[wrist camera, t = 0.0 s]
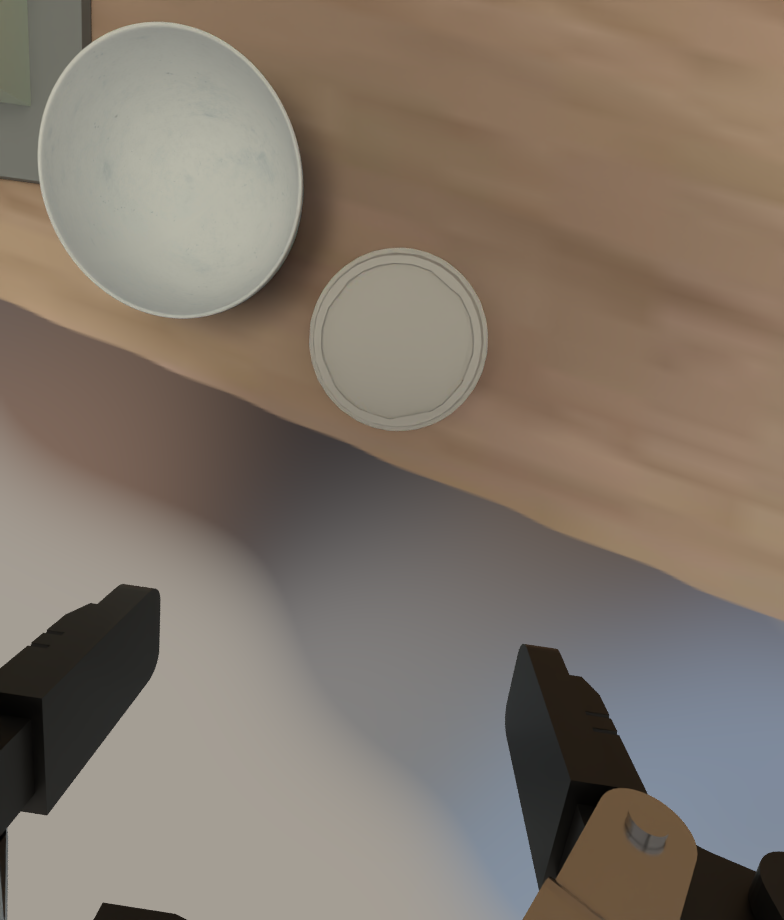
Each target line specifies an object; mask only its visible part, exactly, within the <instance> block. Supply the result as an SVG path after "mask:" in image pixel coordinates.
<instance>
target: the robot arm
mask: <svg viewBox="0 0 784 920" xmlns="http://www.w3.org/2000/svg"><path fill="white" fill-rule="evenodd" d="M159 633H160V594H159V591H158V590H157V589H153V588H147V587H139V586H133V585H126V584H121V585H119V586H118V587H117V588H115V589H114V590H113V591H112V592H111V593H110V594H108V595H107V596H106V597H105V598H104V599H103V600H102V601H100V602H99V603H98V604H92V603H90V604H88V605H85V606H83V607H81V608H79V609H77V610H75V611H73V612H70V613H68V614H66V615H64V616H63V617H62V618H61V619H60V620H59V621H57V622H56V623H55V624H53V625H52V626H51V627H50V628H49V629H48V630H47V632H46V633H43V634H41V635H40V636H39V637H38V638H36V639H35V640H34V641H33V642H32V644H31V646H27V647H26V648H24V649H23V650H22V651H21V652H20V653H18V654H17V655H16V656H15V657H13V658H12V659H11V660H10V661H9V662H8V663H6V664H5V665H4V666H2V667H1V668H0V920H7V896H8V891H7V890H8V832H7V827H8V826H9V825H10V823H11V822H12V821H13V820H14V819H15V817H16V816H17V815H18V813H20V811H23V812H29V813H35V814H42V815H48V813H49V812H50V811H51V810H52V808H53V807H54V805H55V804H56V803H57V801H58V800H59V799H60V797H61V796H62V795H63V794H64V792H65V791H66V790H67V788H68V787H69V786H70V784H71V783H72V782H73V780H74V779H75V778H76V776H77V775H78V774H79V773H80V771H81V770H82V769H83V767H84V766H85V765H86V763H87V762H88V760H89V759H90V758H91V757H92V755H93V754H94V753H95V751H96V750H97V749H98V747H99V746H100V745H101V743H102V742H103V741H104V739H105V738H106V736H107V735H108V734H109V733H110V731H111V730H112V729H113V728H114V726H115V725H116V723H117V722H118V721H119V720H120V718H121V717H122V716H123V714H124V713H125V712H126V710H127V709H128V708H129V706H130V705H131V704H132V702H133V701H134V700H135V698H136V697H137V696H138V694H139V693H140V692H141V690H142V689H143V688H144V686H145V685H146V684H147V682H148V681H149V680H150V678H151V676H152V674H153V672H154V670H155V667H156V664H157V660H158V655H159V636H160V635H159ZM505 728H506V736H507V741H508V746H509V751H510V755H511V760H512V765H513V770H514V774H515V779H516V783H517V789H518V793H519V798H520V803H521V807H522V812H523V816H524V822H525V826H526V831H527V836H528V840H529V845H530V850H531V854H532V859H533V864H534V869H535V873H536V878H537V883H538V888H539V892H538V894H537V896H536V897H535V899H534V901H533V902H532V904H531V906H530V908H529V909H528V911H527V913H526V915H525V916H524V918H523V920H784V852H771V853H768V854H767V855H765V856H764V857H763V858H762V860H761V862H760V864H759V867H758V869H757V871H753V870H751V869H748V868H746V867H744V866H741V865H739V864H737V863H734V862H732V861H730V860H727V859H725V858H722V857H720V856H718V855H715V854H713V853H711V852H709V851H707V850H705V849H702V848H701V847H699V846H697V845H696V843H695V840H694V838H693V836H692V834H691V832H690V831H689V829H688V828H687V826H686V825H685V823H684V822H683V821H682V820H681V819H680V818H679V817H678V816H677V815H676V814H675V813H674V812H673V811H672V810H671V809H670V808H668V807H667V806H666V805H664V804H663V803H662V802H660V801H659V800H657V799H655V798H653V797H652V796H650V795H648V794H647V792H646V790H645V788H644V785H643V783H642V782H641V779H640V777H639V775H638V773H637V771H636V769H635V767H634V765H633V763H632V761H631V759H630V757H629V755H628V753H627V751H626V749H625V746H624V744H623V742H622V740H621V738H620V736H619V735H617V730H616V728H615V726H614V724H613V722H612V720H611V719H610V718H609V714H608V711H607V709H606V708H605V705H604V703H603V701H602V699H601V697H600V695H599V694H598V693H597V692H596V691H595V690H594V689H593V688H592V687H591V686H590V685H589V684H588V683H587V682H586V681H585V680H584V679H583V678H582V677H579V676H572V675H569V673H568V671H567V668H566V666H565V664H564V661H563V659H562V657H561V654H560V652H559V651H558V649H554V648H547V647H541V646H534V645H527V644H522V645H521V647H520V649H519V652H518V656H517V660H516V665H515V670H514V674H513V678H512V682H511V687H510V692H509V696H508V701H507V705H506V714H505ZM94 920H186V919H184V918H182V917H180V916H178V915H176V914H172V913H166V912H159V911H153V910H146V909H140V908H134V907H127V906H121V905H115V904H108V903H102V905H101V907H100V909H99V911H98V913H97V915H96V916H95V918H94Z"/></svg>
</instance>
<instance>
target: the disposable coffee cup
mask: <svg viewBox="0 0 784 920" xmlns="http://www.w3.org/2000/svg"><path fill="white" fill-rule="evenodd" d="M487 346H488V331H487V324H486V318H485V315H484V311H483V308H482V305H481V302H480V300H479V298H478V297H477V295H476V293H475V291H474V290H473V288H472V286H471V285H470V284H469V282H468V281H467V280H466V279H465V277H464V276H463V275H462V274H461V273H460V272H458V271H457V270H456V269H455V268H454V267H453V266H452V265H451V264H449V263H447V262H446V261H444V260H442V259H441V258H439V257H437V256H434V255H432V254H430V253H427V252H424V251H420V250H416V249H410V248H387V249H382V250H377V251H373V252H370V253H368V254H365V255H363V256H360V257H358V258H357V259H355V260H354V261H352V262H351V263H349V264H347V265H346V266H344V267H343V268H342V269H341V270H340V271H339V272H338V273H337V274H336V275H335V276H334V277H333V278H332V279H331V280H330V281H329V283H328V284H327V285H326V287H325V288H324V290H323V291H322V293H321V295H320V297H319V299H318V301H317V303H316V305H315V309H314V312H313V315H312V319H311V322H310V337H309V348H310V354H311V360H312V364H313V367H314V370H315V373H316V376H317V379H318V380H319V382H320V384H321V385H322V387H323V389H324V390H325V392H326V394H327V395H328V397H329V398H330V399H331V400H332V401H333V402H334V403H335V404H336V405H337V406H338V407H339V408H340V410H342V411H343V412H345V413H346V414H348V415H349V416H351V417H352V418H354V419H355V420H357V421H359V422H361V423H363V424H366V425H368V426H371V427H374V428H378V429H383V430H388V431H407V430H415V429H419V428H422V427H426V426H429V425H432V424H434V423H436V422H438V421H440V420H442V419H444V418H445V417H447V416H448V415H450V414H451V413H452V412H454V411H455V410H456V409H457V408H458V407H459V406H460V405H461V404H463V403H464V401H465V400H466V399H467V397H468V396H469V395H470V393H471V392H472V391H473V389H474V388H475V386H476V384H477V382H478V380H479V378H480V376H481V374H482V371H483V367H484V363H485V359H486V355H487Z"/></svg>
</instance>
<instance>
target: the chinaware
mask: <svg viewBox="0 0 784 920" xmlns="http://www.w3.org/2000/svg"><path fill="white" fill-rule="evenodd" d="M38 173H39V181H40V187H41V192H42V196H43V200H44V204H45V207H46V210H47V213H48V216H49V218H50V221H51V223H52V225H53V228H54V230H55V232H56V234H57V236H58V238H59V239H60V241H61V243H62V245H63V246H64V248H65V249H66V251H67V252H68V254H69V255H70V257H71V258H72V259H73V261H74V262H75V263H76V265H77V266H78V267H79V268H80V269H81V270H82V271H83V272H84V274H85V275H86V276H87V277H88V278H89V279H90V280H91V281H93V282H94V283H95V284H96V285H97V286H98V287H100V288H101V289H102V290H103V291H105V292H106V293H107V294H109V295H110V296H112V297H113V298H115V299H117V300H118V301H120V302H122V303H124V304H126V305H128V306H130V307H132V308H134V309H137V310H140V311H142V312H145V313H149V314H152V315H156V316H161V317H167V318H180V319H186V318H199V317H205V316H210V315H214V314H217V313H220V312H223V311H226V310H228V309H231V308H233V307H235V306H237V305H239V304H241V303H242V302H244V301H246V300H247V299H249V298H250V297H252V296H253V295H255V294H256V293H257V292H258V291H260V290H261V289H262V288H263V287H264V286H265V285H266V284H267V283H268V282H269V281H270V280H271V279H272V278H273V277H274V275H275V274H276V273H277V272H278V270H279V269H280V267H281V266H282V264H283V263H284V261H285V260H286V258H287V256H288V254H289V252H290V250H291V248H292V246H293V243H294V241H295V238H296V235H297V232H298V228H299V224H300V219H301V214H302V207H303V190H304V189H303V171H302V163H301V157H300V151H299V147H298V143H297V139H296V136H295V133H294V130H293V127H292V124H291V122H290V119H289V117H288V115H287V112H286V110H285V108H284V106H283V105H282V103H281V101H280V99H279V97H278V96H277V94H276V92H275V91H274V89H273V88H272V86H271V85H270V84H269V82H268V81H267V80H266V78H265V77H264V76H263V75H262V73H261V72H260V71H259V70H258V69H257V68H256V67H255V66H254V65H253V64H252V63H251V62H250V61H249V60H248V59H247V58H246V57H245V56H244V55H242V54H241V53H240V52H239V51H237V50H236V49H235V48H233V47H232V46H231V45H229V44H228V43H226V42H224V41H223V40H221V39H219V38H217V37H216V36H214V35H211V34H209V33H207V32H205V31H202V30H200V29H197V28H194V27H190V26H187V25H182V24H177V23H170V22H145V23H137V24H132V25H128V26H125V27H121V28H119V29H116V30H113V31H111V32H109V33H107V34H105V35H103V36H101V37H100V38H98V39H96V40H95V41H93V42H92V43H90V44H89V45H88V46H86V47H85V48H84V49H83V50H82V51H81V52H80V53H78V54H77V55H76V56H75V57H74V59H73V60H72V61H71V62H70V63H69V64H68V66H67V67H66V68H65V69H64V71H63V72H62V74H61V75H60V77H59V78H58V80H57V82H56V84H55V85H54V87H53V89H52V91H51V94H50V96H49V98H48V101H47V103H46V106H45V109H44V113H43V116H42V121H41V125H40V131H39V139H38Z"/></svg>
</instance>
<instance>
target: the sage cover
mask: <svg viewBox="0 0 784 920" xmlns="http://www.w3.org/2000/svg"><path fill="white" fill-rule="evenodd" d="M0 102H3V103H10V104H18V105H25V106H31V91H30V64H29V37H28V10H27V0H0Z"/></svg>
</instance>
